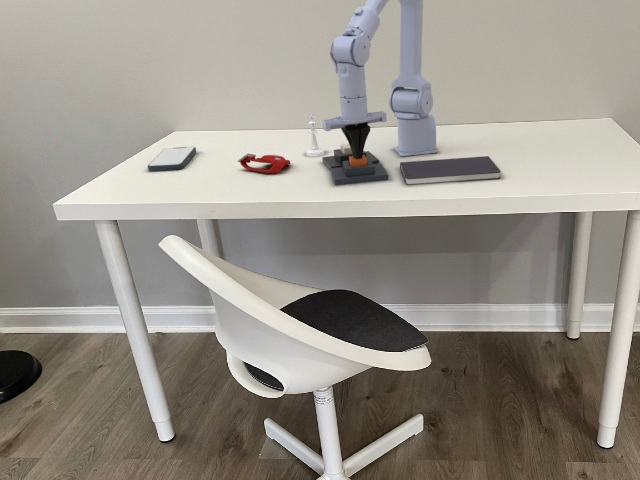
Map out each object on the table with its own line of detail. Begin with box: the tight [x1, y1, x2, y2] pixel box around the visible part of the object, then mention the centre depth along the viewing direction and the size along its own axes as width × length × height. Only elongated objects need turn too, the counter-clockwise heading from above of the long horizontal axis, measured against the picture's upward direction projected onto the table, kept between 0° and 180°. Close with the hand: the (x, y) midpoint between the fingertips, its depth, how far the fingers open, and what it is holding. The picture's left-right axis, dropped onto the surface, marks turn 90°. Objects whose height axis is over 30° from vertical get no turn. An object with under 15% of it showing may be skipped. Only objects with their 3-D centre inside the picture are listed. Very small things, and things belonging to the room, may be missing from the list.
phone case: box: [147, 146, 197, 172], centre depth 161 cm, size 9×2×16 cm
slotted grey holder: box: [330, 159, 389, 186], centre depth 142 cm, size 12×9×3 cm
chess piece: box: [305, 113, 326, 157], centre depth 160 cm, size 5×5×10 cm
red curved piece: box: [237, 153, 291, 174], centre depth 150 cm, size 12×4×10 cm
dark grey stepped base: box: [321, 148, 380, 172], centre depth 152 cm, size 12×9×3 cm
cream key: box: [339, 143, 352, 154], centre depth 151 cm, size 4×4×2 cm
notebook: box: [399, 155, 501, 186], centre depth 142 cm, size 13×2×21 cm
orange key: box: [349, 155, 367, 167], centre depth 141 cm, size 4×4×2 cm
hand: (357, 157), depth 141 cm, fingers closed, pressing on orange key
